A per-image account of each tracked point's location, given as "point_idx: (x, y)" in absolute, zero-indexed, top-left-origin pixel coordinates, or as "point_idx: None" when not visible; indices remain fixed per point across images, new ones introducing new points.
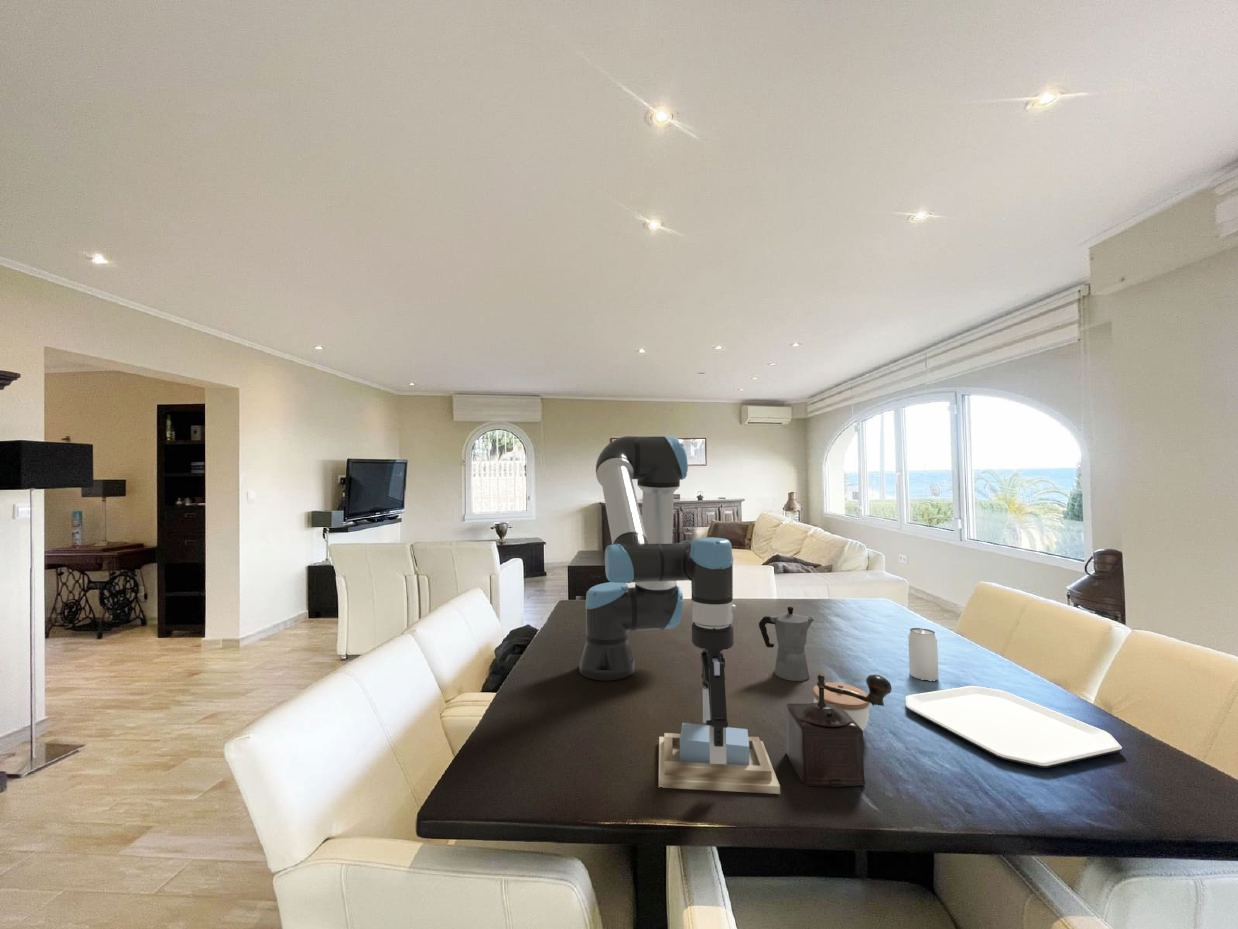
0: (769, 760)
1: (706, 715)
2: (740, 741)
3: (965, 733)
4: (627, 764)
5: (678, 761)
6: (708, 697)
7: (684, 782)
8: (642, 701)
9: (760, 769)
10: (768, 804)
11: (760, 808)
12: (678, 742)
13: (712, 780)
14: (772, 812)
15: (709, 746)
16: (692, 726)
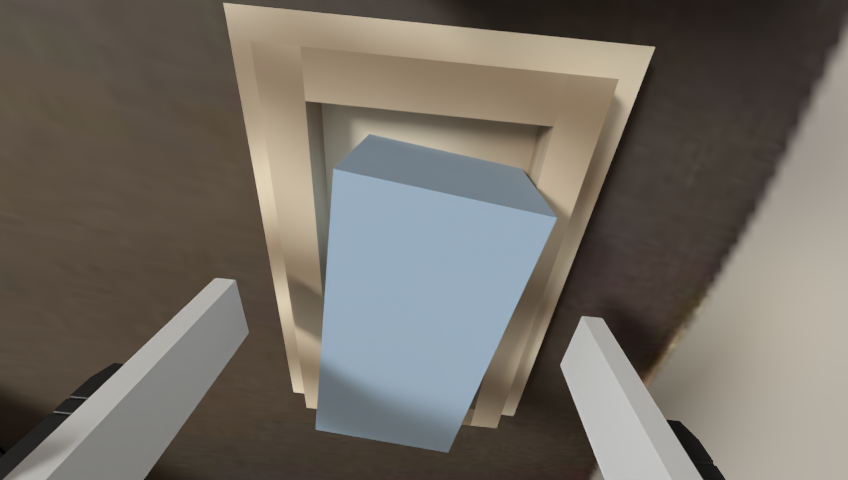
0: (424, 26)
1: (224, 351)
2: (490, 251)
3: None
4: None
5: None
6: (139, 446)
7: (531, 368)
8: (64, 386)
9: (585, 138)
10: (677, 128)
11: (686, 167)
12: None
13: (541, 305)
14: (727, 127)
15: (583, 424)
16: (341, 407)
